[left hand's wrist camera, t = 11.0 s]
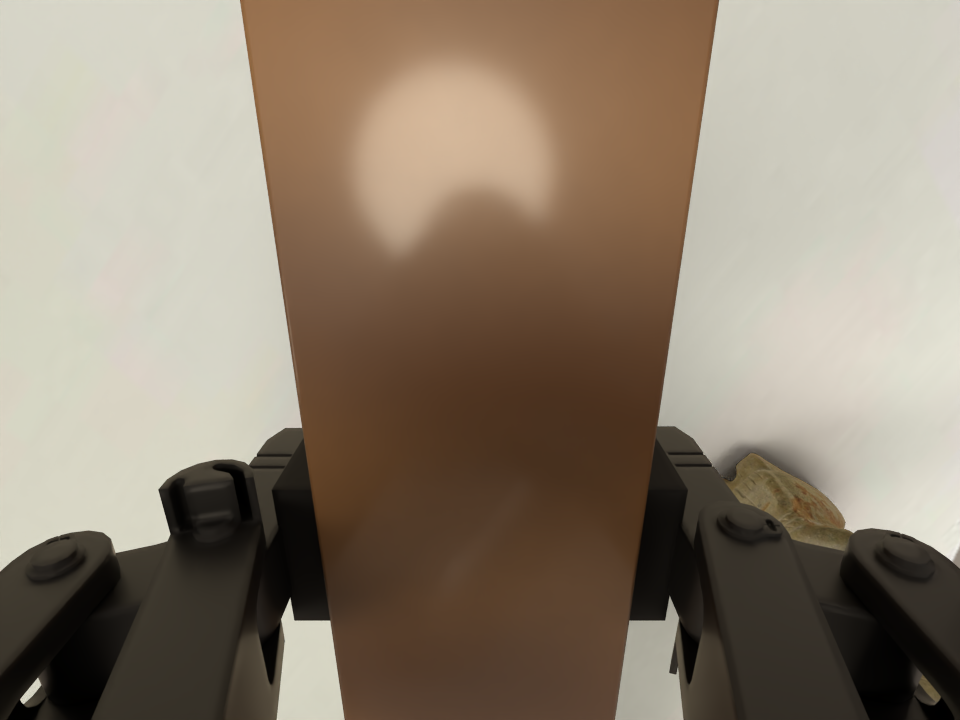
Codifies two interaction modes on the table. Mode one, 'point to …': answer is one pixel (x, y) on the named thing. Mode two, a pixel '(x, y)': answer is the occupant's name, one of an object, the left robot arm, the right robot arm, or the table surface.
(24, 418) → the table surface
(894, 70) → the table surface
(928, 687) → the sculpture
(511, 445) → the post
